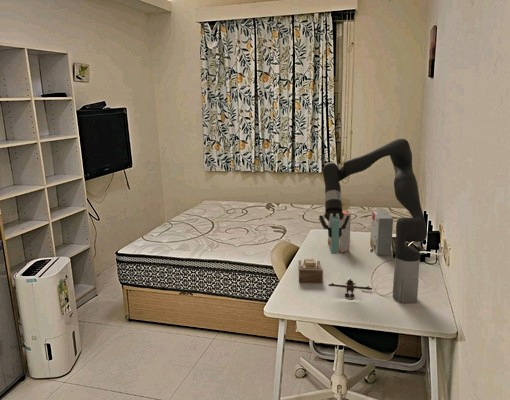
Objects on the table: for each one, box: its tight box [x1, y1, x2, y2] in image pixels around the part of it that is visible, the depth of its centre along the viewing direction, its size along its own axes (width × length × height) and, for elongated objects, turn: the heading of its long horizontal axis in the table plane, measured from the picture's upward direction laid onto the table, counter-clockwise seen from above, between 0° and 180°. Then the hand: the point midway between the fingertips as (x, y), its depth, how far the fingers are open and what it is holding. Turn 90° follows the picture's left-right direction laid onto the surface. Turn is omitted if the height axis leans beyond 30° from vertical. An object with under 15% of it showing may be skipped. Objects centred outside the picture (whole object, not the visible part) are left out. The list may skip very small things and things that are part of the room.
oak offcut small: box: [303, 258, 317, 267], centre depth 198 cm, size 5×4×2 cm
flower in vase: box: [342, 196, 352, 213], centre depth 241 cm, size 13×11×25 cm
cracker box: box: [327, 210, 352, 253], centre depth 228 cm, size 14×6×21 cm, turn 17°
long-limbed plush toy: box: [328, 278, 373, 301], centre depth 177 cm, size 18×4×14 cm
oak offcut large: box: [302, 261, 317, 269], centre depth 198 cm, size 7×6×2 cm
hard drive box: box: [369, 209, 394, 256], centre depth 224 cm, size 16×8×20 cm, turn 178°
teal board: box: [329, 217, 339, 255], centre depth 186 cm, size 6×3×15 cm, turn 174°
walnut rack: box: [298, 259, 324, 284], centre depth 193 cm, size 20×10×7 cm, turn 175°
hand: (335, 236), depth 184 cm, fingers closed on teal board, 3 cm apart
